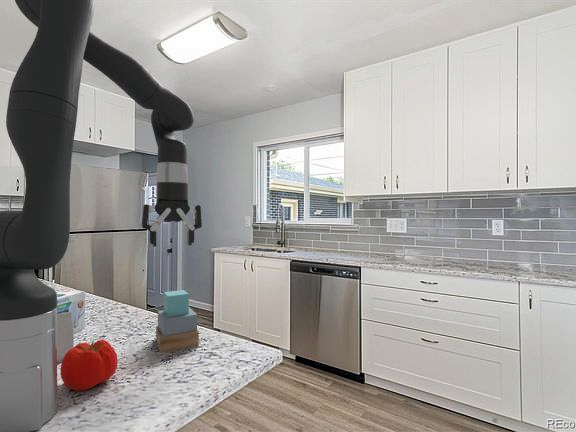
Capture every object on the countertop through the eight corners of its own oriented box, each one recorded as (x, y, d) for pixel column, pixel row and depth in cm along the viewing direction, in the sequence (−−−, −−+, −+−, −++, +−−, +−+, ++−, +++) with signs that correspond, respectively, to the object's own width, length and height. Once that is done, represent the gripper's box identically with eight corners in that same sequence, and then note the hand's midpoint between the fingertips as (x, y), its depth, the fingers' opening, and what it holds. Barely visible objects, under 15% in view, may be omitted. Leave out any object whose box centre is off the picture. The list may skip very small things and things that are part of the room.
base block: (198, 347, 83) (198, 331, 83) (160, 354, 79) (159, 337, 79) (191, 335, 91) (191, 320, 91) (156, 341, 87) (156, 325, 87)
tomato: (50, 396, 60) (50, 354, 60) (80, 372, 69) (80, 336, 69) (103, 396, 60) (103, 354, 60) (126, 372, 69) (126, 336, 69)
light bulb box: (52, 342, 85) (52, 300, 85) (30, 340, 86) (30, 298, 86) (86, 328, 95) (86, 290, 95) (66, 326, 97) (66, 289, 96)
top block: (197, 330, 84) (197, 314, 84) (163, 336, 80) (163, 319, 79) (189, 321, 90) (189, 306, 90) (157, 326, 86) (157, 311, 86)
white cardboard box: (73, 357, 76) (73, 313, 76) (37, 367, 71) (36, 320, 71) (69, 352, 79) (68, 310, 79) (33, 361, 74) (33, 316, 74)
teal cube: (188, 313, 84) (188, 293, 84) (168, 316, 82) (168, 296, 82) (183, 308, 88) (183, 289, 88) (163, 311, 86) (163, 292, 86)
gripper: (143, 179, 78) (143, 248, 79) (204, 182, 85) (204, 245, 85) (141, 181, 85) (141, 245, 85) (197, 184, 92) (197, 243, 92)
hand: (172, 245), depth 85 cm, fingers open, 8 cm apart
